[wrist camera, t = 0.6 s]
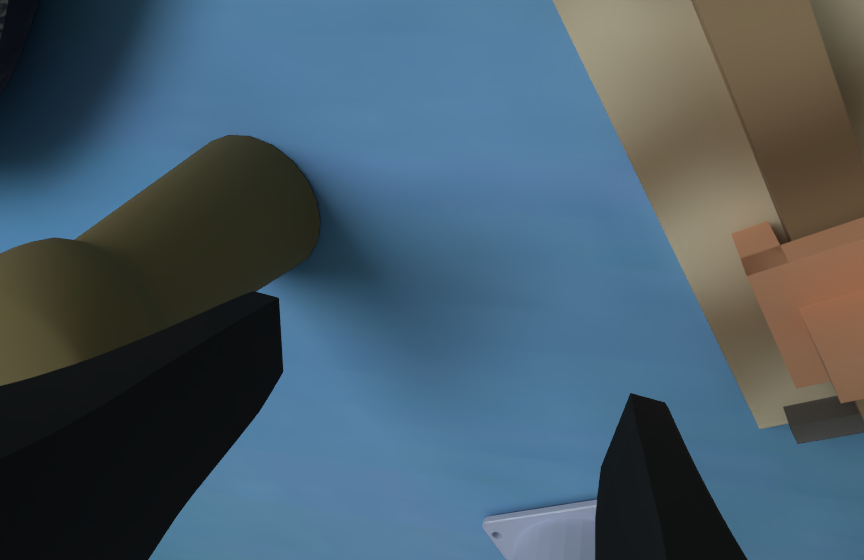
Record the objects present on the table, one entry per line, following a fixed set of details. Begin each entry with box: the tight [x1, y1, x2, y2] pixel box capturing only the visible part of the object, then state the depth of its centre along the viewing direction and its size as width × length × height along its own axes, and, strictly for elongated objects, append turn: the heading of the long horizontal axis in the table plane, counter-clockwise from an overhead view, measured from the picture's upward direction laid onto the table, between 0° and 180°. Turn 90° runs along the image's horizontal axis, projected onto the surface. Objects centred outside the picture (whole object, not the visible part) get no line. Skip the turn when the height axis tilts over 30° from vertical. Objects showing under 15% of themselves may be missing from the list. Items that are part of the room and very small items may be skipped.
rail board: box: [553, 0, 864, 444], centre depth 14 cm, size 20×8×5 cm, turn 33°
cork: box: [0, 135, 320, 386], centre depth 18 cm, size 6×6×11 cm
